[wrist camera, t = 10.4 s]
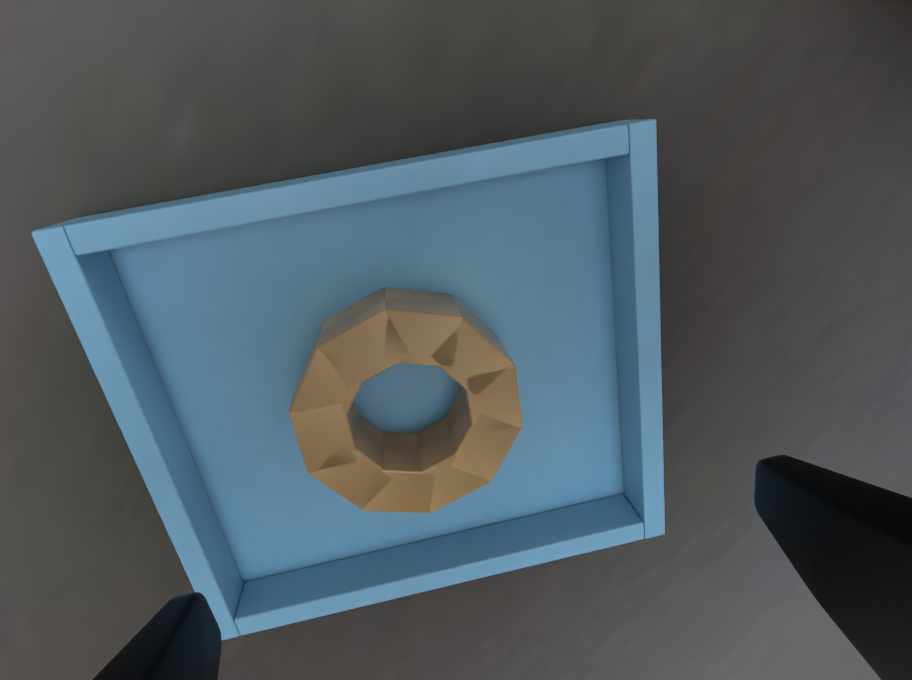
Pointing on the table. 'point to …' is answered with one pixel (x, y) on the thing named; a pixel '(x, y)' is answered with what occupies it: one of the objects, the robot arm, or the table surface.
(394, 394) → the tray
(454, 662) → the table surface
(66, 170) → the table surface
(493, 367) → the wooden ring
